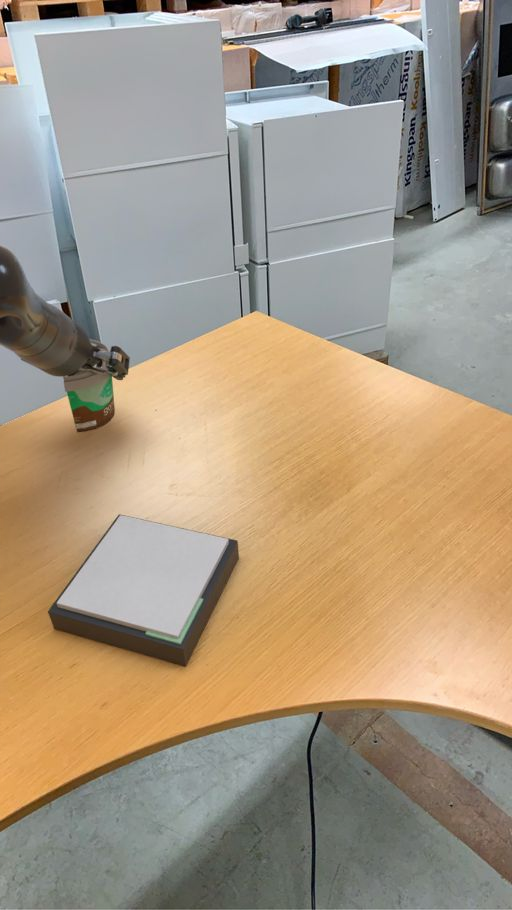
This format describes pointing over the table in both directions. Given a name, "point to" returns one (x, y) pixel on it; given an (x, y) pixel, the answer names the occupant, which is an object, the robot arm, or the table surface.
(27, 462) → the table surface
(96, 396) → the food container
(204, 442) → the table surface
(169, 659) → the scale
